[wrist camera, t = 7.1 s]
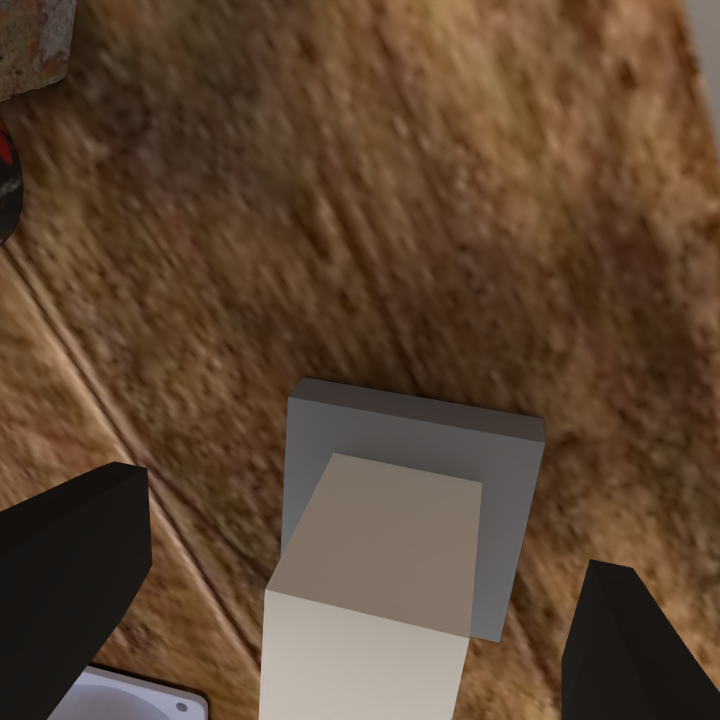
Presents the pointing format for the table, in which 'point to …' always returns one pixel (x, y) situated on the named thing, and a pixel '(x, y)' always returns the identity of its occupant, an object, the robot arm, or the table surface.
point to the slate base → (423, 467)
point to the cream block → (372, 597)
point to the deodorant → (9, 185)
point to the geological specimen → (34, 43)
